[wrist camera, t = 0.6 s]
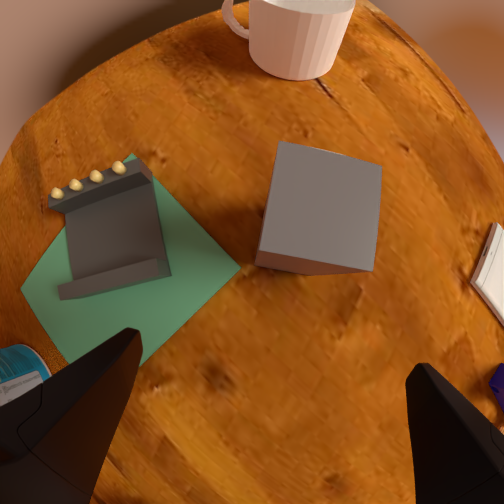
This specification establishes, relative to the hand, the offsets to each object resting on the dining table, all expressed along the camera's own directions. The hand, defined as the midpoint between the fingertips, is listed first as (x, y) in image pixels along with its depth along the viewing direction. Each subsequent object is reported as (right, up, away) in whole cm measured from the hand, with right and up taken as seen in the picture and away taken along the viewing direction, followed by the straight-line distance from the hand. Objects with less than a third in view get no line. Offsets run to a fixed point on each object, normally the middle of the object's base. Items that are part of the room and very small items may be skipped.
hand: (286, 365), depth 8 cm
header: (-13, +5, +14) cm, 19 cm away
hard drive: (+29, 0, +15) cm, 32 cm away
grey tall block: (+2, +4, +15) cm, 15 cm away
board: (-13, +1, +14) cm, 19 cm away
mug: (+2, +25, +17) cm, 30 cm away
